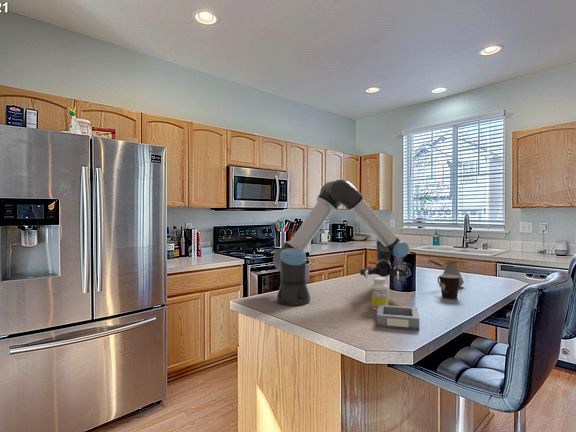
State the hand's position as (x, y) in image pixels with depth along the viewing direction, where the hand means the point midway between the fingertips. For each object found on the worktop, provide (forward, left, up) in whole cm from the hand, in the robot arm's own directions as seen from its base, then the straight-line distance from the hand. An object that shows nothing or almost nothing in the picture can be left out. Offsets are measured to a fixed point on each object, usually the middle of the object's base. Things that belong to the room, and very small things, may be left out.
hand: (381, 276), depth 149 cm
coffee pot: (+30, +42, -12) cm, 53 cm away
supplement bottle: (-1, -10, -12) cm, 16 cm away
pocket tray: (+6, -25, -12) cm, 28 cm away
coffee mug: (+29, +20, -12) cm, 38 cm away
